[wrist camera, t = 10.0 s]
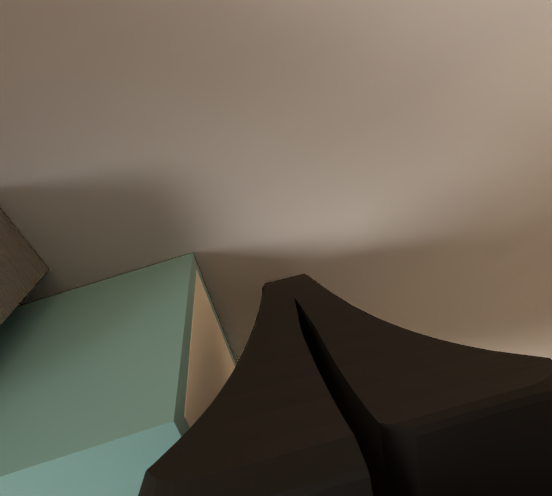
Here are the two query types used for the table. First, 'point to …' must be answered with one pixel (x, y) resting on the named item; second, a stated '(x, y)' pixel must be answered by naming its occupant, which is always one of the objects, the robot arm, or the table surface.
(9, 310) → the bookend
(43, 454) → the book
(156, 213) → the table surface
